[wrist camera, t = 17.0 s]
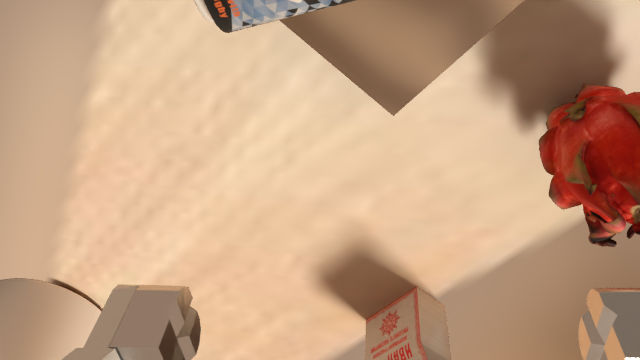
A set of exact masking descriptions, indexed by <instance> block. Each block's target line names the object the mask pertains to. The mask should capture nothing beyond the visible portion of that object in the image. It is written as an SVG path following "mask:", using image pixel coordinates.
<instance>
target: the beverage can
mask: <svg viewBox="0 0 640 360" xmlns="http://www.w3.org/2000/svg"><path fill="white" fill-rule="evenodd" d="M352 1H356V0H194V2H195V4H196V6H197V8H198V9H199V11H200V13H201V14H202V16H203V17H204V18H205V19H206V20H207V21H209V22H215V23H216V25H217V26H218V27H219V28H220V29H221V30H222V31H223V32H225V33H230V32H233V31H237V30H241V29H245V28H249V27H253V26H257V25H261V24H265V23H269V22H273V21H277V20H281V19H285V18H289V17H293V16H297V15H301V14H304V13H308V12H312V11H316V10H320V9H324V8H328V7H332V6H336V5H340V4H344V3H348V2H352Z"/></svg>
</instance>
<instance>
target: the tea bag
mask: <svg viewBox="0 0 640 360" xmlns="http://www.w3.org/2000/svg"><path fill="white" fill-rule="evenodd" d="M365 360H451V353H450V345H449V336H448V327H447V319H446V311H445V306H444V305H443V304H442V303H440V302H439V301H437V300H436V299H435V298H433V297H431V296H430V295H429V294H427V293H426V292H424V291H423V290H421V289H420V288H418V287H415V288H414V289H412V290H411V291H409V292H408V293H406V294H405V295H403V296H402V297H400V298H399V299H397V300H396V301H394V302H393V303H391V304H390V305H388V306H387V307H385V308H383V309H382V310H380V311H379V312H377V313H376V314H374V315H373V316H371V317H370V318H368V319H367V320H366V343H365Z"/></svg>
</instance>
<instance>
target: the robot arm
mask: <svg viewBox="0 0 640 360" xmlns="http://www.w3.org/2000/svg"><path fill="white" fill-rule="evenodd" d="M192 298H193V297H192V295H191V292H190V290H189V287H185V286H158V285H118V286H117V287H116V288H114V289H113V290H112V292H111V294H110V296H109V298H108V300H107V302H106V304H105V306H104V308H103V310H102V311H100V310H99V309H98V308H97V307H96V306H95V305H93V304H92V303H91V302H89V301H88V300H86V299H85V298H83V297H82V296H80V295H78V294H76V293H74V292H72V291H70V290H68V289H65V288H63V287H60V286H58V285H55V284H51V283H48V282H44V281H39V280H33V279H23V278H14V279H5V280H0V360H191V359H192V358H193V357H194V356H195V355H196V353H197V350H198V346H199V342H200V332H201V327H200V319H199V315H198V312H197V311H196V310H195V309H193V308H192V307H191V306H190V304H191V301H192ZM586 302H587V305H588V308H589V311H588V312H587V313H585V314H584V315H583V316H582V317H581V320H580V325H579V345H580V350H581V354H582V357H583V360H640V288H593V289H592V290H591V291H590V292H589V294H588V297H587V300H586Z"/></svg>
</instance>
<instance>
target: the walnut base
mask: <svg viewBox="0 0 640 360" xmlns="http://www.w3.org/2000/svg"><path fill="white" fill-rule="evenodd" d="M523 1H524V0H356V1H352V2H348V3H344V4H340V5H336V6H332V7H328V8H324V9H320V10H316V11H312V12H308V13H304V14H301V15H297V16H293V17H289V18H285V19H281V20H280V21H281V22H282V23H283V24H285V25H286V26H287V27H288V28H289V29H291V30H292V31H293V32H294V33H295V34H296V35H298V36H299V37H300V38H301V39H302V40H304V41H305V42H306V43H307V44H308V45H310V46H311V47H312V48H313V49H314V50H316V51H317V52H318V53H319V54H320V55H321V56H323V57H324V58H325V59H326V60H327V61H329V62H330V63H331V64H332V65H333V66H335V67H336V68H337V69H338V70H339V71H341V72H342V73H343V74H344V75H345V76H346V77H348V78H349V79H350V80H351V81H352V82H354V83H355V84H356V85H357V86H358V87H360V88H361V89H362V90H363V91H364V92H366V93H367V94H368V95H369V96H370V97H371V98H373V99H374V100H375V101H376V102H377V103H379V104H380V105H381V106H382V107H383V108H385V109H386V110H387V111H388V112H389V113H391V114H392V115H393V116H394V115H395V114H396V113H397V112H398V111H400V110H401V109H402V108H403V107H404V106H405V105H406V104H407V103H409V102H410V101H411V100H412V99H413V98H414V97H415V96H417V95H418V94H419V93H420V92H421V91H422V90H423V89H424V88H426V87H427V86H428V85H429V84H430V83H431V82H432V81H434V80H435V79H436V78H437V77H438V76H439V75H440V74H441V73H443V72H444V71H445V70H446V69H447V68H448V67H449V66H451V65H452V64H453V63H454V62H455V61H456V60H457V59H459V58H460V57H461V56H462V55H463V54H464V53H465V52H466V51H468V50H469V49H470V48H471V47H472V46H473V45H474V44H476V43H477V42H478V41H479V40H480V39H481V38H482V37H483V36H485V35H486V34H487V33H488V32H489V31H490V30H491V29H493V28H494V27H495V26H496V25H497V24H498V23H499V22H500V21H502V20H503V19H504V18H505V17H506V16H507V15H508V14H510V13H511V12H512V11H513V10H514V9H515V8H516V7H518V6H519V5H520V4H521V3H522V2H523Z"/></svg>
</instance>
